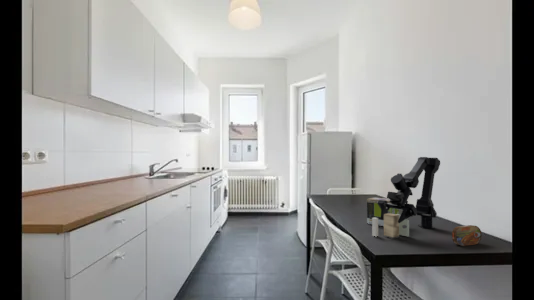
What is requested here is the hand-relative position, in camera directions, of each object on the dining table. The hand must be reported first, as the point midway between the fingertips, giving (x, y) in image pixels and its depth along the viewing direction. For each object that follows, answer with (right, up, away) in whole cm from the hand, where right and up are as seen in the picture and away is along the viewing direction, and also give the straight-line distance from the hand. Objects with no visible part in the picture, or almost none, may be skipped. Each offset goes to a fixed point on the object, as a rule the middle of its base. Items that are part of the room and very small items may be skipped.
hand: (389, 220), depth 148 cm
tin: (+30, -8, -11) cm, 33 cm away
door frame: (+2, -8, +8) cm, 11 cm away
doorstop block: (+1, -8, +1) cm, 8 cm away
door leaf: (+6, -8, +4) cm, 11 cm away
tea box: (+7, -9, +27) cm, 29 cm away
